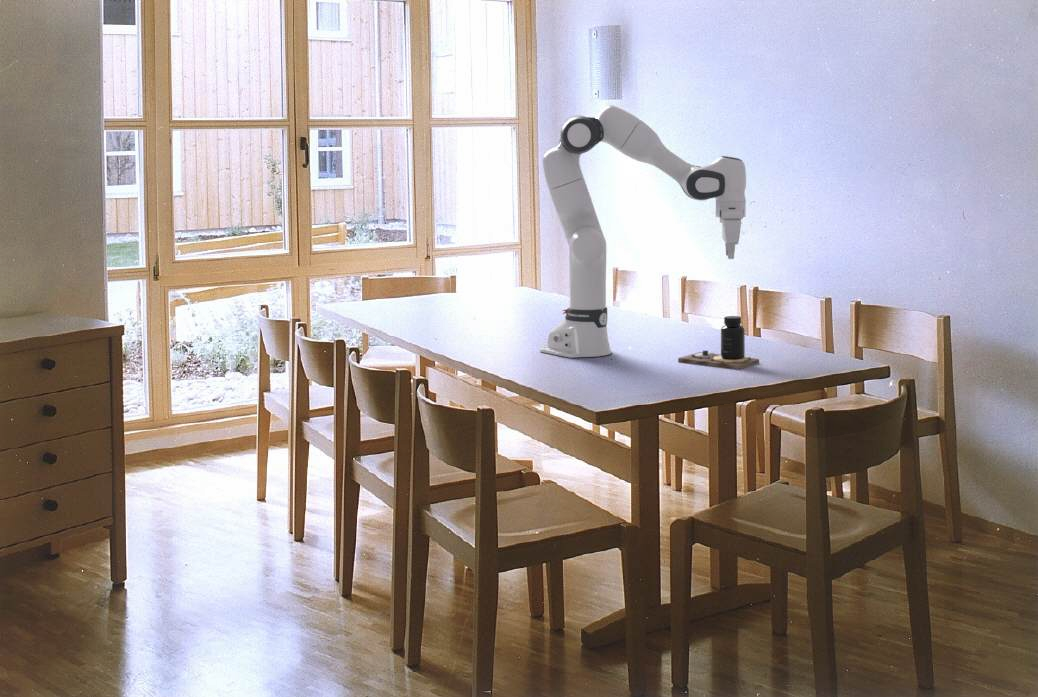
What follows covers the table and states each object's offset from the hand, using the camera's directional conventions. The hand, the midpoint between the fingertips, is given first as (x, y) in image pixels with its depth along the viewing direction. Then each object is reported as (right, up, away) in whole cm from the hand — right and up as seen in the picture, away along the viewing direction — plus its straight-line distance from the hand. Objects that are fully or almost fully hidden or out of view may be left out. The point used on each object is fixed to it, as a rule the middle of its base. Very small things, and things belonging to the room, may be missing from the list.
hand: (729, 257), depth 365 cm
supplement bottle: (-2, -30, -13) cm, 33 cm away
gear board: (-5, -32, -11) cm, 34 cm away
